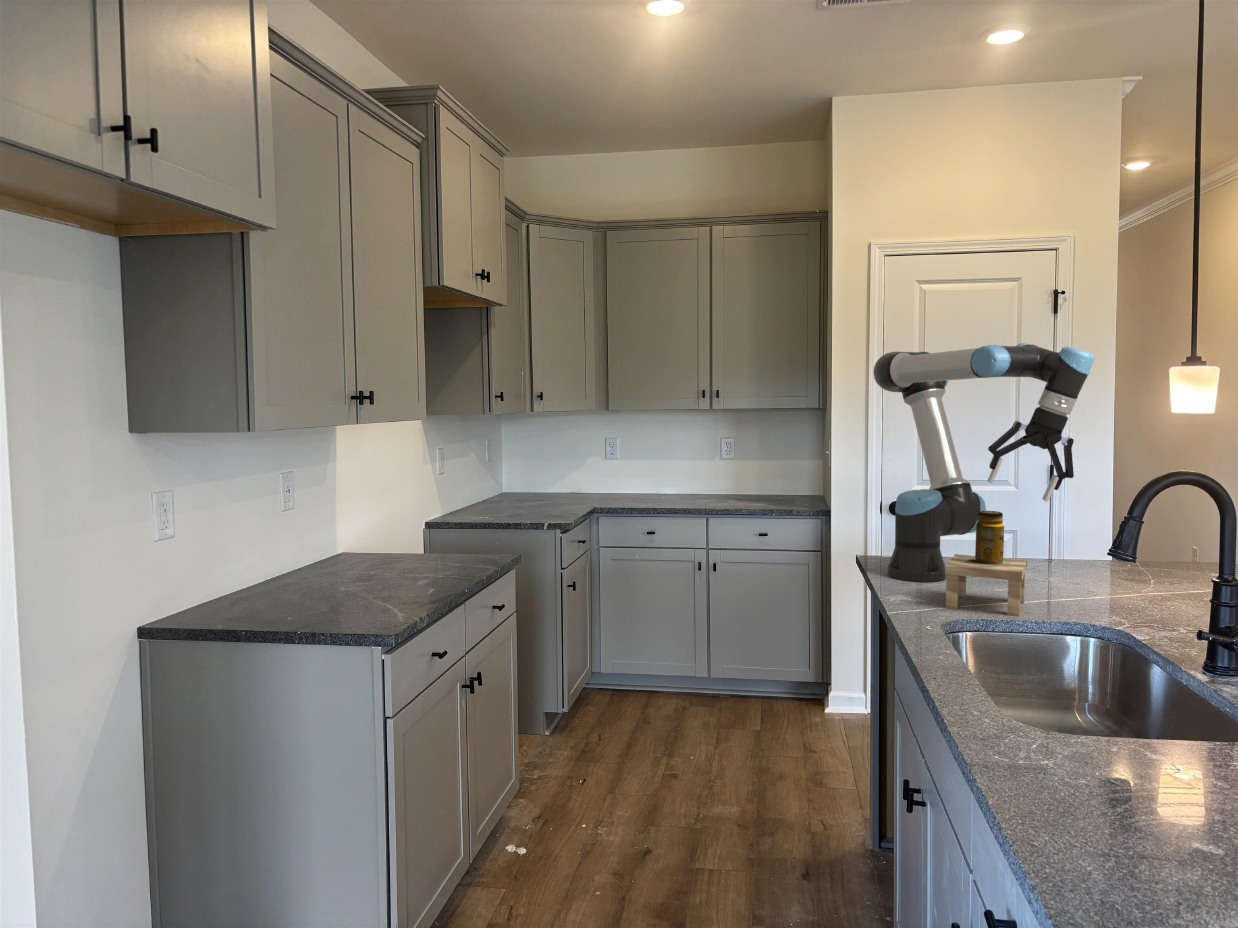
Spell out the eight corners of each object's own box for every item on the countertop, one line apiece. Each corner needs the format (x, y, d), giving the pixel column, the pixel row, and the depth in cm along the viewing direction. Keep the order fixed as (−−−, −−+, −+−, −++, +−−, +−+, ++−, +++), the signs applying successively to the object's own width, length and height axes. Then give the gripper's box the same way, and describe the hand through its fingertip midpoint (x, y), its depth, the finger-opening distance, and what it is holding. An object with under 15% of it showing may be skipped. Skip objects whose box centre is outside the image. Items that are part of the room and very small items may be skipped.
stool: (954, 593, 206) (955, 554, 206) (1025, 601, 198) (1026, 560, 198) (944, 607, 193) (945, 565, 192) (1020, 616, 185) (1021, 572, 184)
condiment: (1011, 563, 194) (1012, 512, 193) (989, 567, 190) (991, 515, 189) (982, 558, 200) (984, 509, 199) (961, 562, 196) (962, 511, 195)
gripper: (1004, 396, 199) (969, 477, 205) (1110, 430, 195) (1072, 511, 200) (998, 393, 206) (964, 471, 212) (1100, 425, 202) (1064, 504, 208)
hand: (1017, 491), depth 206 cm, fingers open, 13 cm apart
